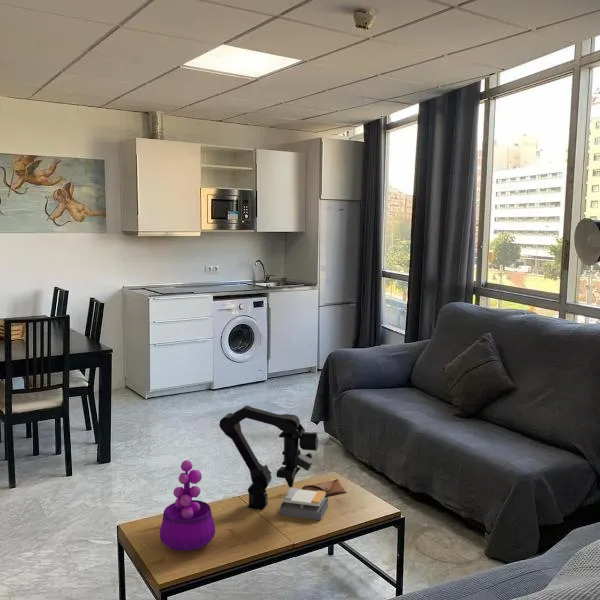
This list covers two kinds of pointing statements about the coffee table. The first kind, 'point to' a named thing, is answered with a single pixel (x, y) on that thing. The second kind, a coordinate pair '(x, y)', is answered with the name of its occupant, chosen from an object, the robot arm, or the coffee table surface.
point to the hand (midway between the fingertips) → (290, 487)
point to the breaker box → (304, 510)
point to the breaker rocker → (304, 497)
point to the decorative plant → (187, 515)
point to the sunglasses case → (327, 487)
